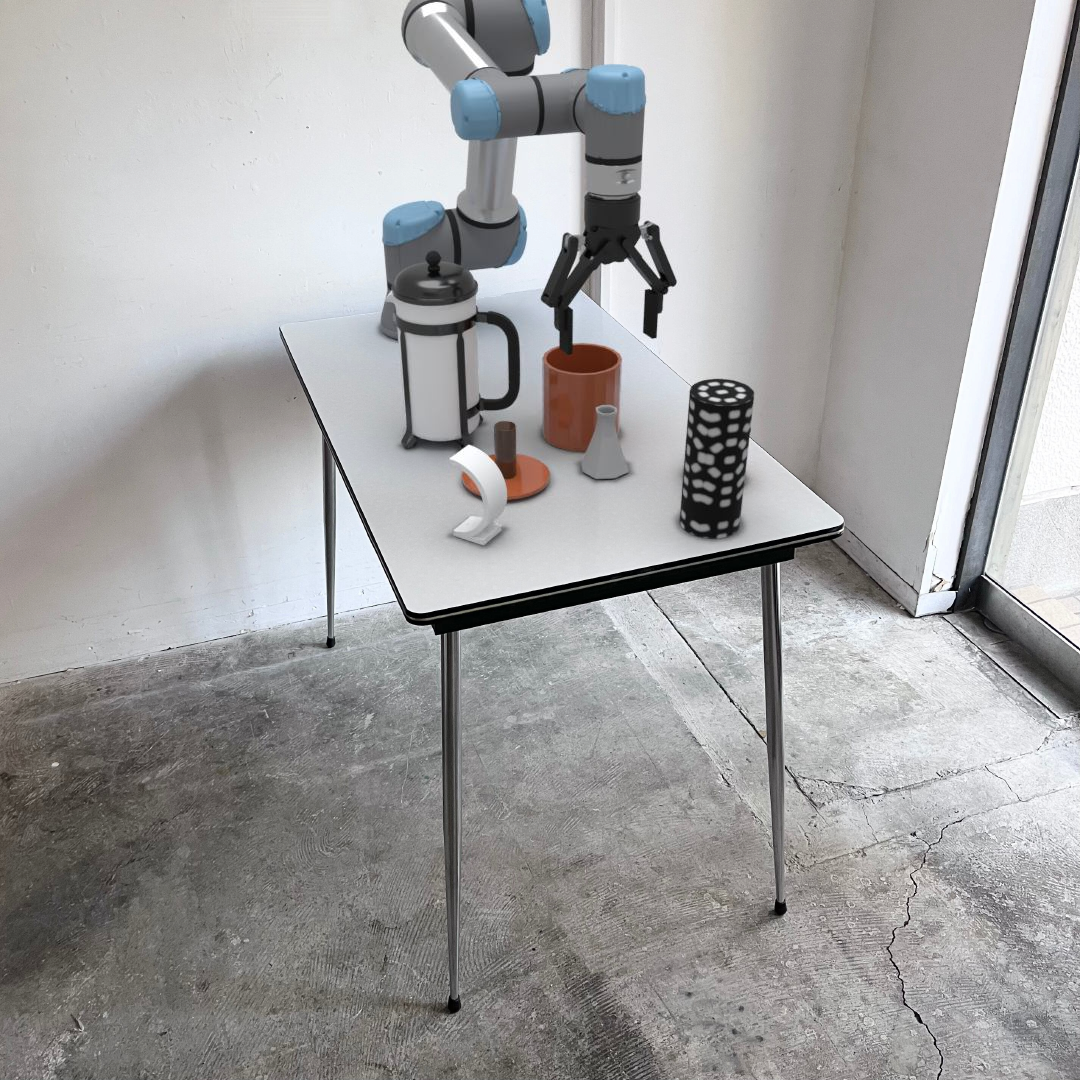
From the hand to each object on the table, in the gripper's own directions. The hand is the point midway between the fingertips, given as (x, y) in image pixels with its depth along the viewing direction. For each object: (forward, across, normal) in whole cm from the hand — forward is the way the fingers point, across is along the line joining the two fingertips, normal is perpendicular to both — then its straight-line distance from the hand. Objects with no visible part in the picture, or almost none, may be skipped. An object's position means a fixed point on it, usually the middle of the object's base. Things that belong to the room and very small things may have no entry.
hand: (608, 343), depth 156 cm
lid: (+19, -16, +2) cm, 25 cm away
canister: (+20, +1, +11) cm, 22 cm away
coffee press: (+20, -18, +20) cm, 33 cm away
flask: (+20, -1, -1) cm, 20 cm away
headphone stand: (+20, -25, -10) cm, 33 cm away
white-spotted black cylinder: (+20, +5, -21) cm, 30 cm away
